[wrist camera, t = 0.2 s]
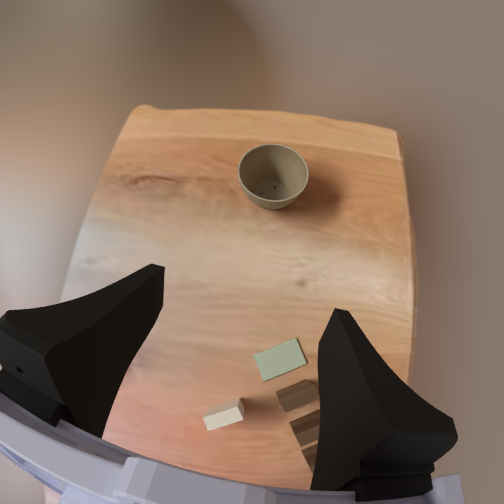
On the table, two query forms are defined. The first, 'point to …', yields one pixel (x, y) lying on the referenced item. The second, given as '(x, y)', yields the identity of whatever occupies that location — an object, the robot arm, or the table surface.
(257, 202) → the flower pot
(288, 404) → the domino
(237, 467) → the table surface
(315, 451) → the domino
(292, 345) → the pad
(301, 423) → the domino
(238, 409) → the domino
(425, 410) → the robot arm
